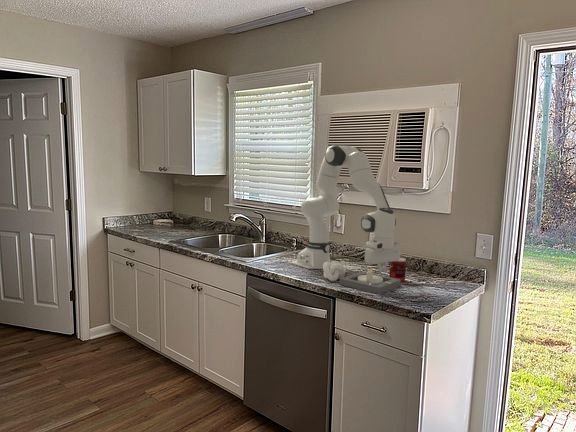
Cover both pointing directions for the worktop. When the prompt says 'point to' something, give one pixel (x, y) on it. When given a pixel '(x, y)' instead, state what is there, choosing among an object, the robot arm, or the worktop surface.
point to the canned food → (398, 269)
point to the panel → (380, 288)
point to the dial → (370, 278)
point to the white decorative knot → (333, 270)
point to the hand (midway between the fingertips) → (381, 271)
